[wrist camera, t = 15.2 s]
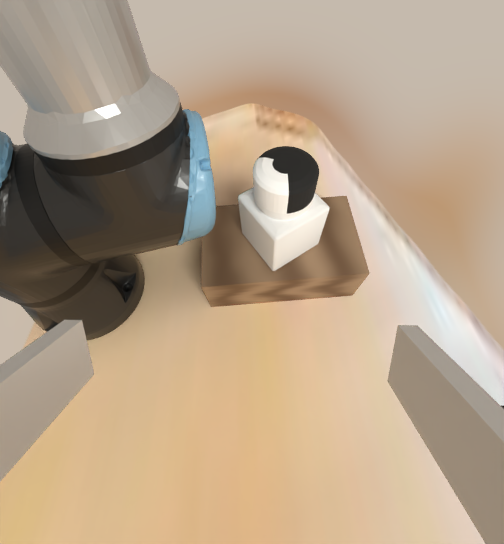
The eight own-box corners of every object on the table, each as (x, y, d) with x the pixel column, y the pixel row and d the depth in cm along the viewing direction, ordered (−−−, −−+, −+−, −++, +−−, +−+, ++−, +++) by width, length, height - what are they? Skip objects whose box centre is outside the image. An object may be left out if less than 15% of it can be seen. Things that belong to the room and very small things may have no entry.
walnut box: (211, 306, 39) (201, 287, 33) (210, 236, 44) (202, 207, 38) (352, 295, 39) (369, 273, 33) (334, 226, 44) (346, 195, 38)
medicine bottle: (285, 207, 37) (293, 126, 27) (319, 244, 35) (344, 170, 24) (241, 232, 36) (231, 157, 25) (273, 273, 33) (277, 207, 22)
